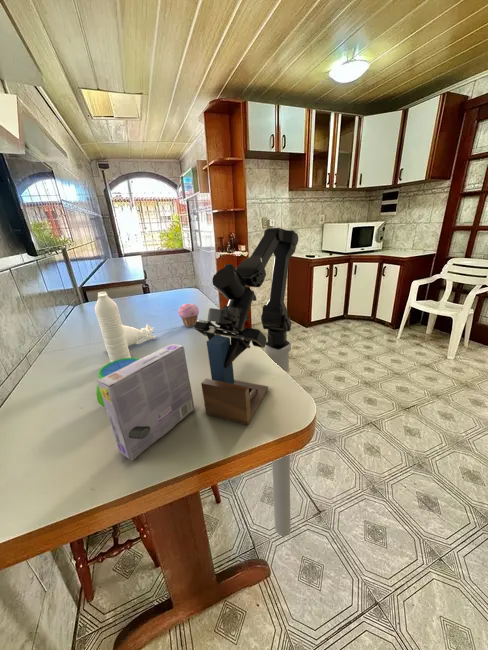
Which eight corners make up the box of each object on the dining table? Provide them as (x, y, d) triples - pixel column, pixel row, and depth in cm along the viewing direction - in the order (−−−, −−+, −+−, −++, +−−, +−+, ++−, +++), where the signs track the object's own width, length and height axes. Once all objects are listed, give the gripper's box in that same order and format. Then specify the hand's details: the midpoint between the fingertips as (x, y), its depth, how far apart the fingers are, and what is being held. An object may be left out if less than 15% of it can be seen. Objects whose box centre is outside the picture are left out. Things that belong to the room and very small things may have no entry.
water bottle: (110, 361, 93) (90, 291, 83) (130, 356, 95) (112, 288, 86) (112, 372, 85) (89, 297, 76) (133, 366, 88) (114, 293, 79)
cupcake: (177, 325, 120) (173, 304, 116) (194, 320, 125) (190, 299, 121) (187, 330, 113) (183, 308, 109) (204, 324, 118) (201, 303, 114)
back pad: (221, 379, 71) (216, 334, 66) (234, 383, 69) (229, 337, 64) (212, 387, 68) (206, 341, 63) (225, 391, 66) (220, 344, 61)
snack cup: (139, 379, 80) (131, 350, 77) (165, 388, 76) (157, 356, 72) (90, 412, 68) (78, 378, 64) (118, 424, 63) (106, 389, 59)
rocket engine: (155, 313, 107) (106, 316, 96) (163, 337, 103) (113, 343, 91) (148, 329, 115) (102, 333, 104) (155, 352, 110) (108, 359, 99)
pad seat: (231, 382, 76) (228, 354, 72) (268, 389, 71) (267, 360, 68) (206, 414, 64) (201, 383, 61) (248, 425, 60) (245, 392, 56)
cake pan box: (185, 400, 70) (173, 339, 63) (199, 406, 67) (188, 344, 60) (117, 452, 55) (93, 381, 49) (132, 463, 53) (108, 389, 46)
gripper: (192, 289, 67) (168, 347, 63) (258, 296, 58) (235, 364, 53) (215, 309, 76) (195, 361, 72) (274, 317, 67) (256, 377, 62)
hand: (217, 365), depth 65 cm, fingers closed on back pad, 4 cm apart
